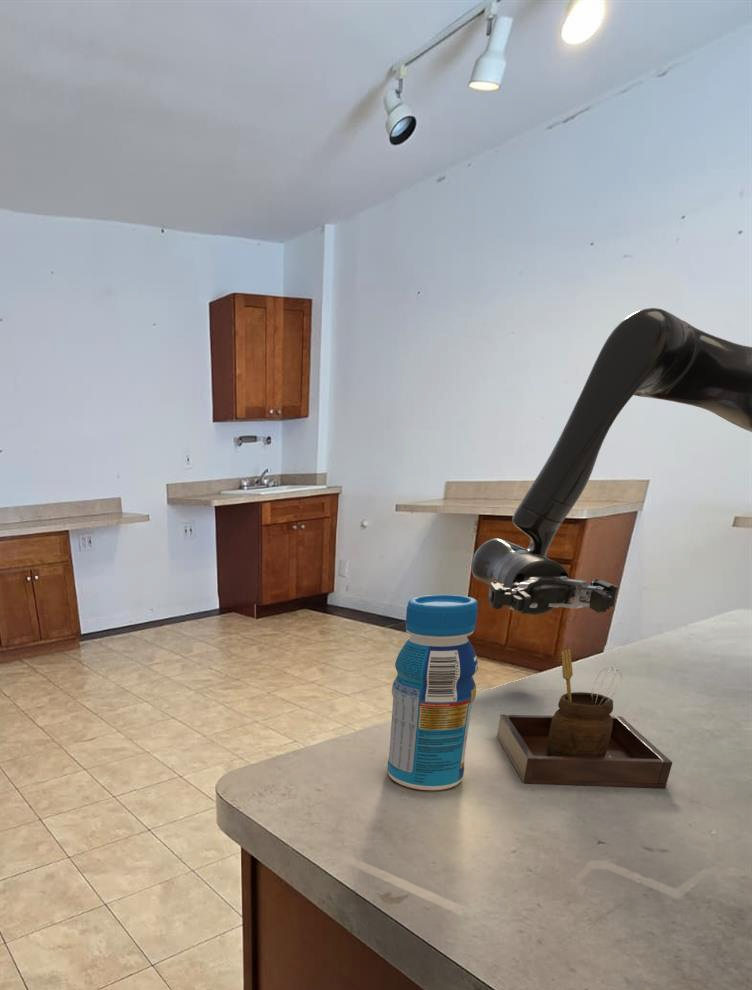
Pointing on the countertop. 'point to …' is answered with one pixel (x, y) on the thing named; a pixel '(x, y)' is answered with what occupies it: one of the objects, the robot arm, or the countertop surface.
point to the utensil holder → (581, 720)
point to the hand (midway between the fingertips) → (565, 605)
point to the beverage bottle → (433, 693)
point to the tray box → (622, 765)
